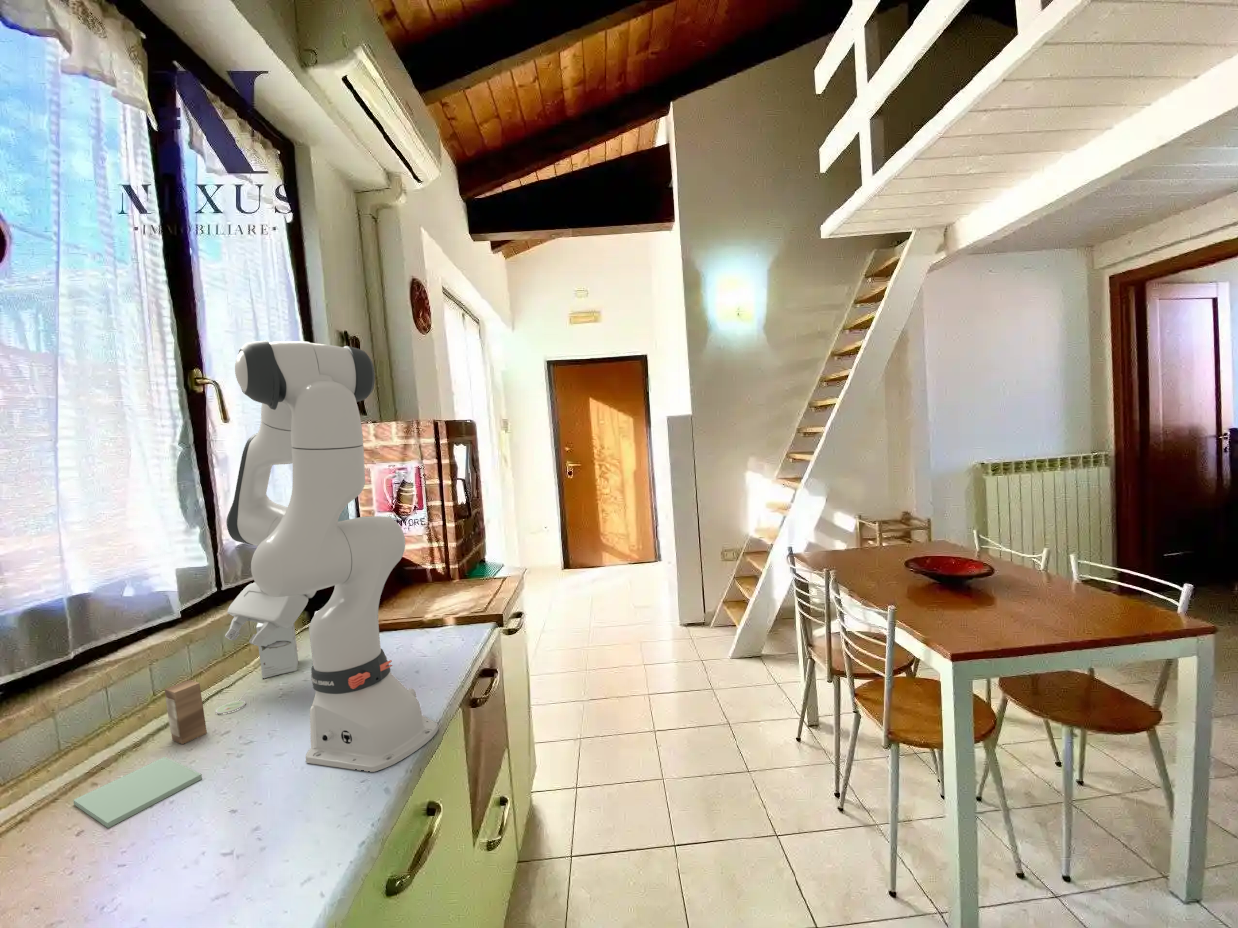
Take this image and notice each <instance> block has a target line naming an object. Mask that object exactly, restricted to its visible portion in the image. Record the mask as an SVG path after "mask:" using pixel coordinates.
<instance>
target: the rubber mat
mask: <svg viewBox="0 0 1238 928" xmlns="http://www.w3.org/2000/svg"><path fill="white" fill-rule="evenodd" d="M202 775H203V774H202V773H200V772H198V771H196V770H194V769H192V768H189V767H187V766H186V765H183V764H181V763H179V762H177V761H175V760H172V759H171V758H168V757H166V756H163V757H161V758H159V759H156V760H155V761H153V762H151V763H149V764H147V765H144V766H142V767H140V768H138V769H136V770H133V771H131V772H130V773H127V774H125V775H123V776H121V777H119V778H116V779H115V780H112V781H110V782H108V783H106V784H104V785H102V786H100V787H98V788H96V789H93V790H91V791H89V792H87V793H85V794H82V795H81V796H78V797H76V798H74V799H73V800H72V801H73V805H74V806H75V805H76V806H75V807H77V808H78V809H80V810H81V811H83V812H84V813H86V814H87V815H88V816H89V817H92V818H93V819H94V820H96V821H97V822H98V823H100V824H102V825H103V826H104V827H106V828H107V829H110V828H112V827H113V826H116V825H117V824H119V823H121V822H123V821H124V820H126V819H128V818H130V817H132V816H134V815H136V814H138V813H140V812H141V811H144V810H146V809H147V808H149V807H152V806H154V805H155V804H156V803H159V802H160V801H162V800H165V799H166V798H168V797H171V796H172V795H174V794H175V793H178V792H180V791H182V790H184V789H186V788H188V787H189V786H191V785H193V784H195V783H197V782H198V781H200V780H202V779H203V776H202Z"/></svg>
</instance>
